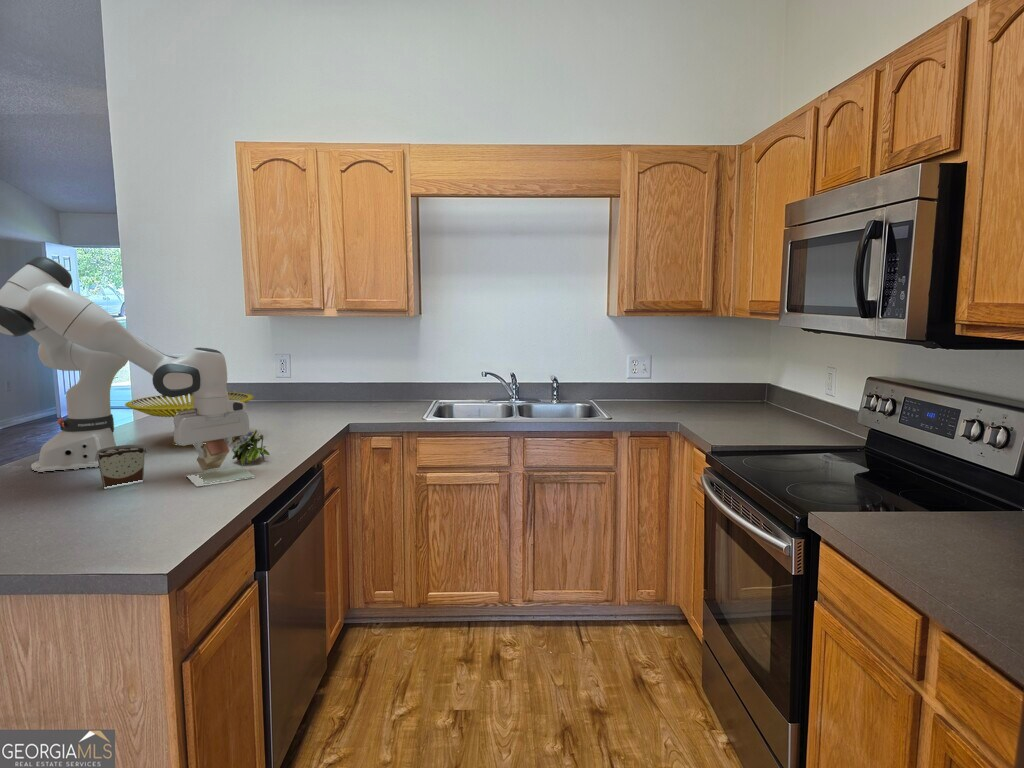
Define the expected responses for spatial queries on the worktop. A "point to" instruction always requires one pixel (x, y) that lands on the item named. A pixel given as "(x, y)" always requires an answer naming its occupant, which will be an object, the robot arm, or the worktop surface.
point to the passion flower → (243, 448)
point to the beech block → (213, 455)
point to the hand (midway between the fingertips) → (214, 455)
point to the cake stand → (171, 409)
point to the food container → (121, 464)
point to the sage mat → (224, 475)
